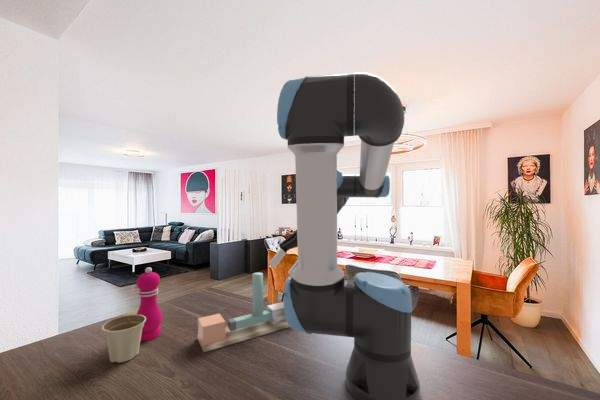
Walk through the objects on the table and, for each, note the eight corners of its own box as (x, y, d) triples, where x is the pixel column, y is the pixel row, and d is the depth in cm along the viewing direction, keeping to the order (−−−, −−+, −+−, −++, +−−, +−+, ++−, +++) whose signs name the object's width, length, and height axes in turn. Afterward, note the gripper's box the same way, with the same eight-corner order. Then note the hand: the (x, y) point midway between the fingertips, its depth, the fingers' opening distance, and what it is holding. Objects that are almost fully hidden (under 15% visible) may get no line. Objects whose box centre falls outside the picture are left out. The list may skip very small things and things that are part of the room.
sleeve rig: (288, 314, 92) (288, 298, 92) (300, 323, 86) (300, 306, 86) (197, 338, 76) (197, 319, 76) (203, 352, 70) (203, 330, 70)
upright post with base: (289, 311, 90) (289, 267, 90) (294, 314, 87) (294, 269, 87) (227, 327, 79) (227, 277, 78) (231, 332, 76) (231, 279, 76)
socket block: (219, 330, 79) (219, 313, 79) (225, 339, 74) (225, 321, 74) (198, 335, 76) (198, 318, 76) (202, 345, 70) (202, 327, 70)
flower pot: (131, 342, 74) (131, 311, 74) (154, 351, 70) (154, 318, 70) (93, 361, 66) (93, 326, 66) (116, 372, 62) (116, 334, 62)
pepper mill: (140, 345, 73) (140, 272, 73) (129, 336, 77) (129, 267, 77) (167, 334, 79) (167, 266, 79) (155, 326, 83) (155, 262, 83)
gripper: (347, 232, 85) (308, 288, 78) (305, 225, 107) (271, 268, 99) (334, 216, 82) (292, 272, 75) (294, 212, 104) (258, 255, 96)
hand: (280, 270), depth 87 cm, fingers open, 13 cm apart
